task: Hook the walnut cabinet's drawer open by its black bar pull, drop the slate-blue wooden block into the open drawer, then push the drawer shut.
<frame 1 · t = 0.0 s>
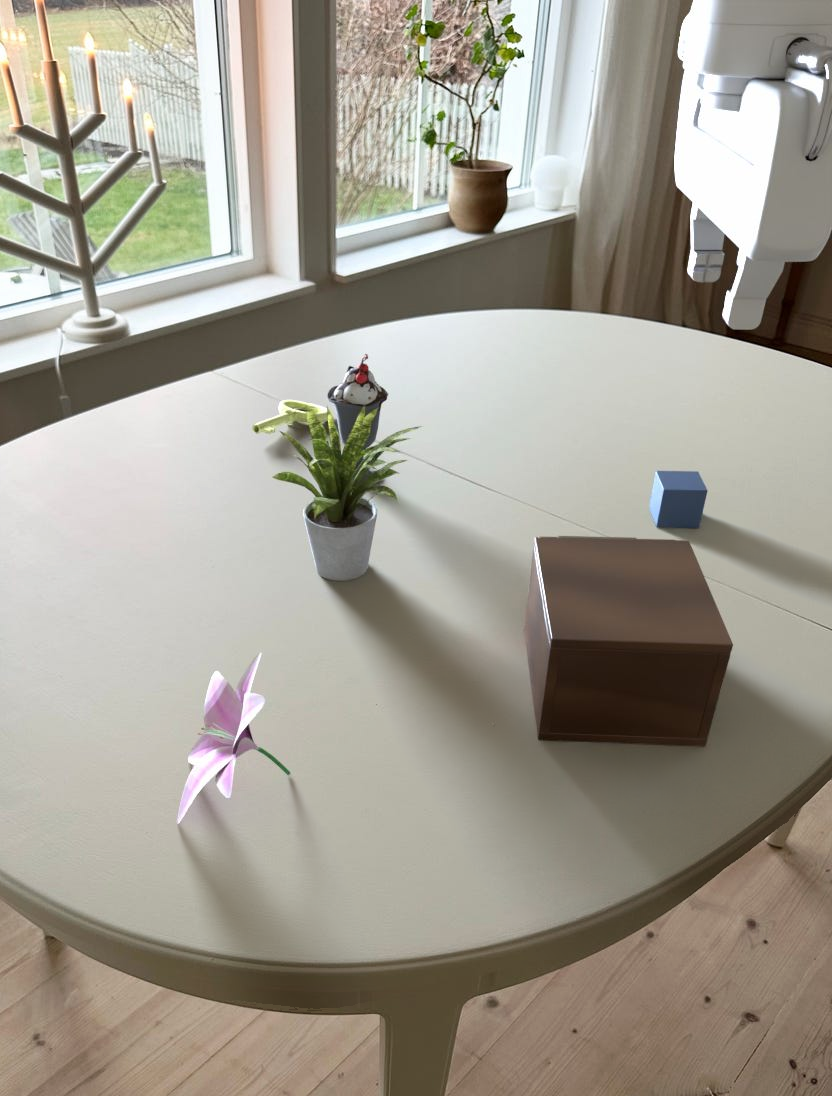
hand: (719, 301, 58), 32 cm above the table, tool pointing down, fingers open, 8 cm apart
block: (673, 517, 101), on the table
key: (289, 425, 123), on the table
cabinet: (607, 684, 79), on the table
lily: (232, 782, 70), on the table
house plant: (344, 575, 93), on the table
sundae: (359, 479, 110), on the table
drawer: (608, 605, 79), point 5 cm above the table, slide at 0.5 cm
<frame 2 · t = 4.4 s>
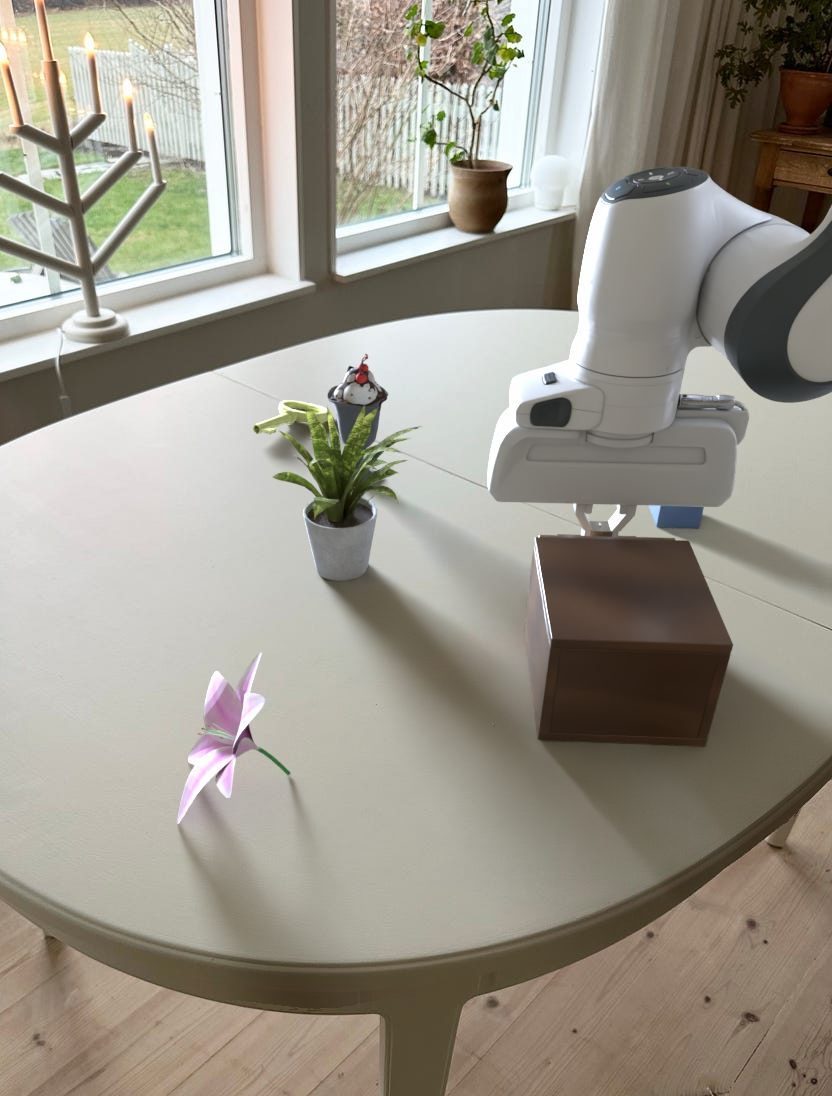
hand: (597, 543, 84), 6 cm above the table, tool pointing down, fingers closed, pressing on drawer
drawer: (607, 603, 80), point 5 cm above the table, slide at 0.8 cm, touching gripper
everything else where it was.
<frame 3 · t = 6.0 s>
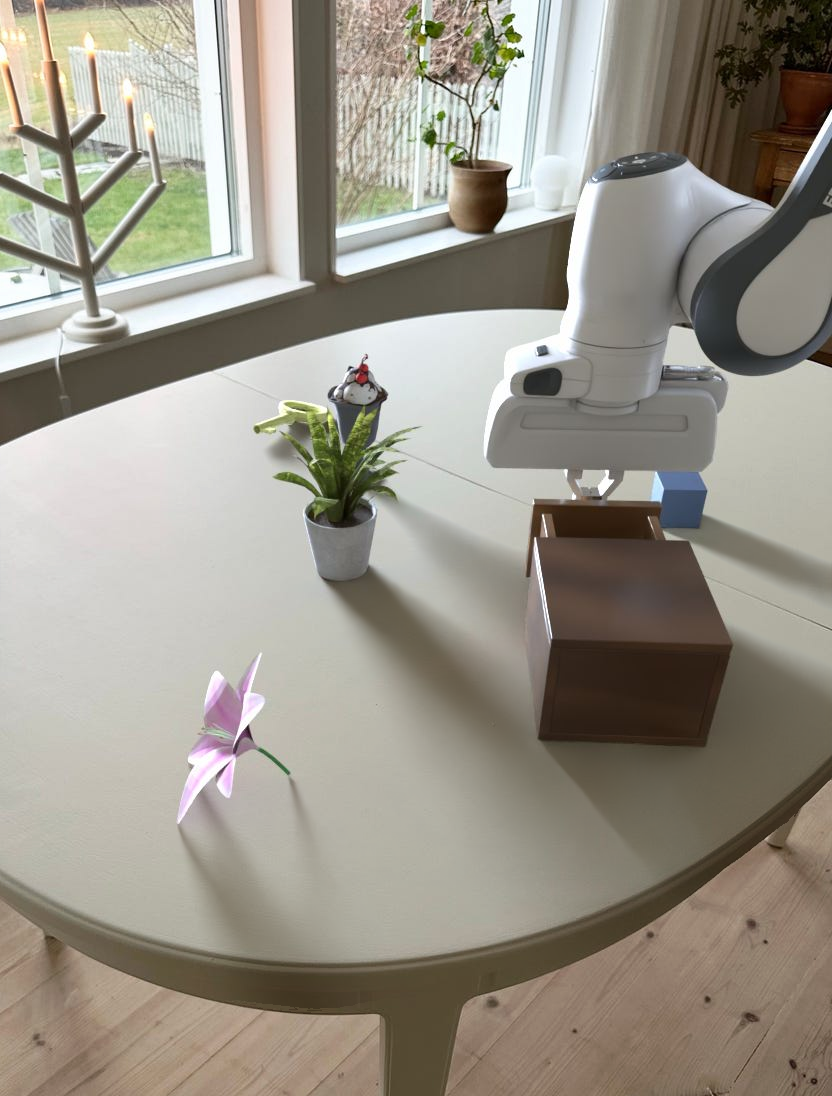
hand: (587, 508, 90), 6 cm above the table, tool pointing down, fingers closed, pressing on drawer
drawer: (596, 562, 85), point 5 cm above the table, slide at 7.4 cm, touching gripper
everything else where it was.
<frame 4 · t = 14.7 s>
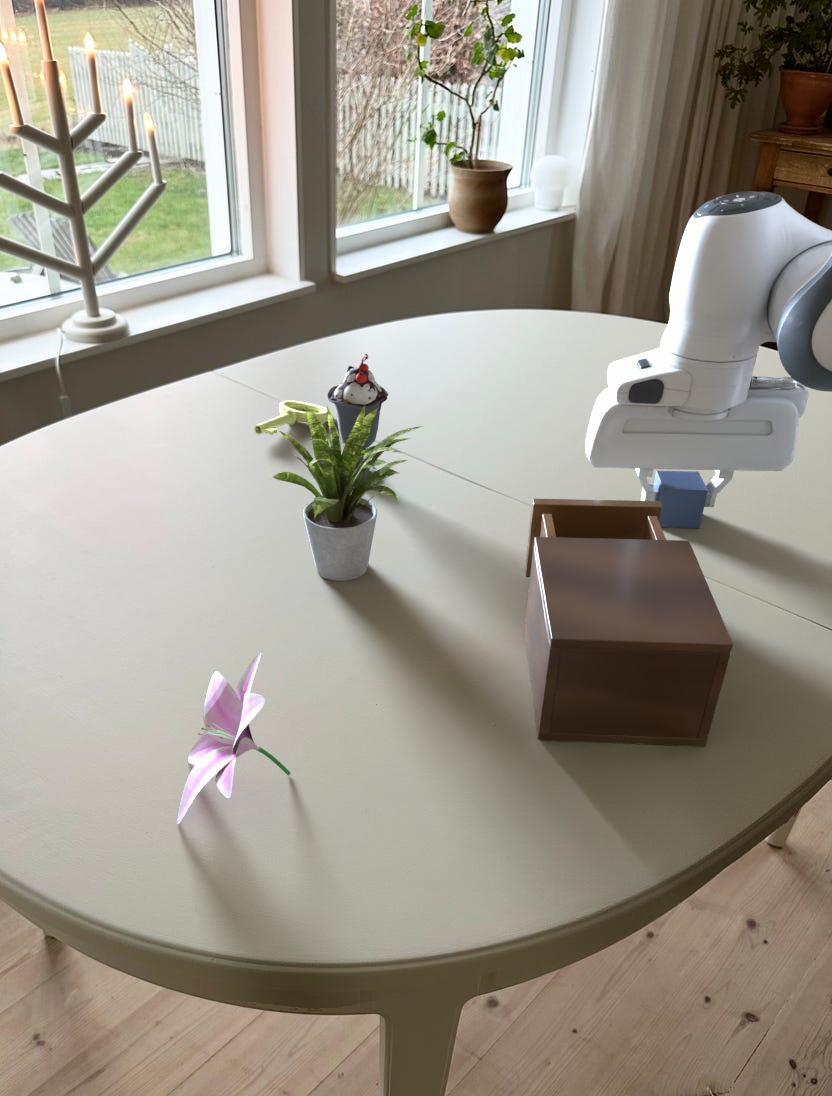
hand: (676, 504, 100), 2 cm above the table, tool pointing down, fingers closed on block, 4 cm apart
block: (673, 517, 101), on the table, touching gripper
drawer: (596, 562, 85), point 5 cm above the table, slide at 7.4 cm
everything else where it was.
when the fingers open (9 cm above the table, at t = 20.7 s): block drops 5 cm, resting on drawer.
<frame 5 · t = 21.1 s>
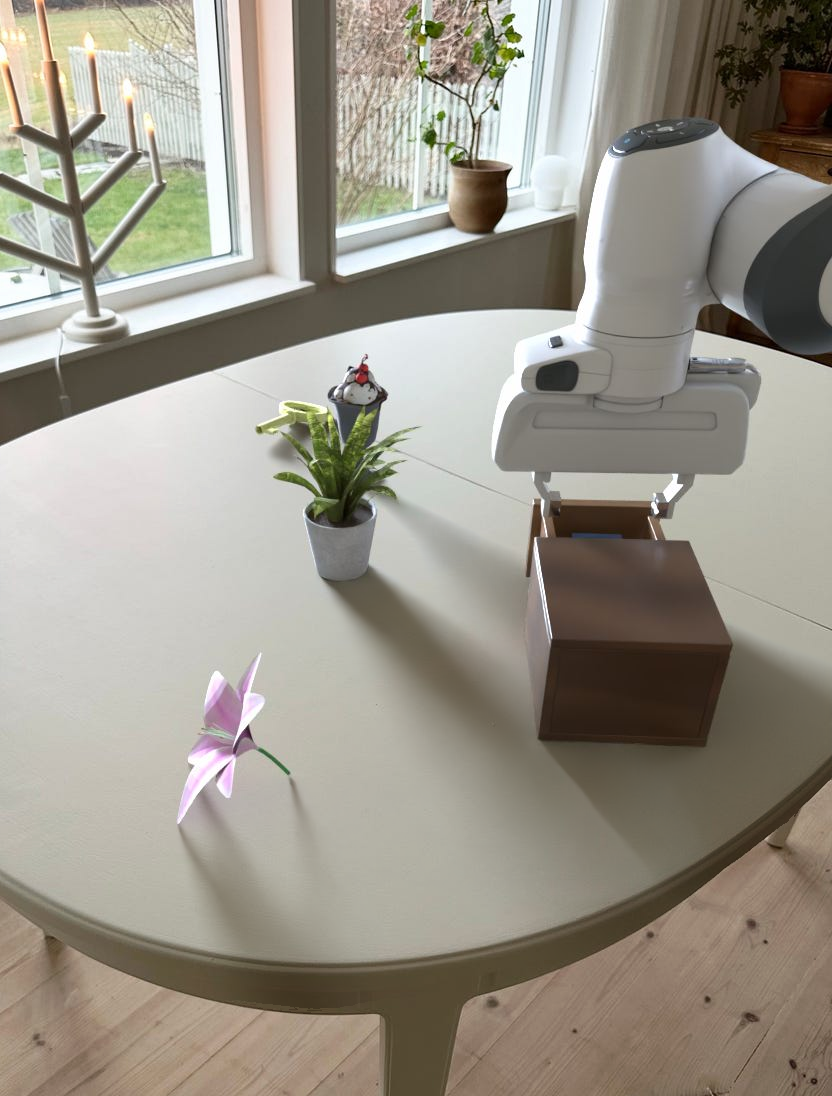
hand: (605, 515, 82), 10 cm above the table, tool pointing down, fingers open, 8 cm apart
block: (593, 587, 87), point 2 cm above the table, touching drawer
drawer: (596, 562, 85), point 5 cm above the table, slide at 7.4 cm, touching block
everything else where it was.
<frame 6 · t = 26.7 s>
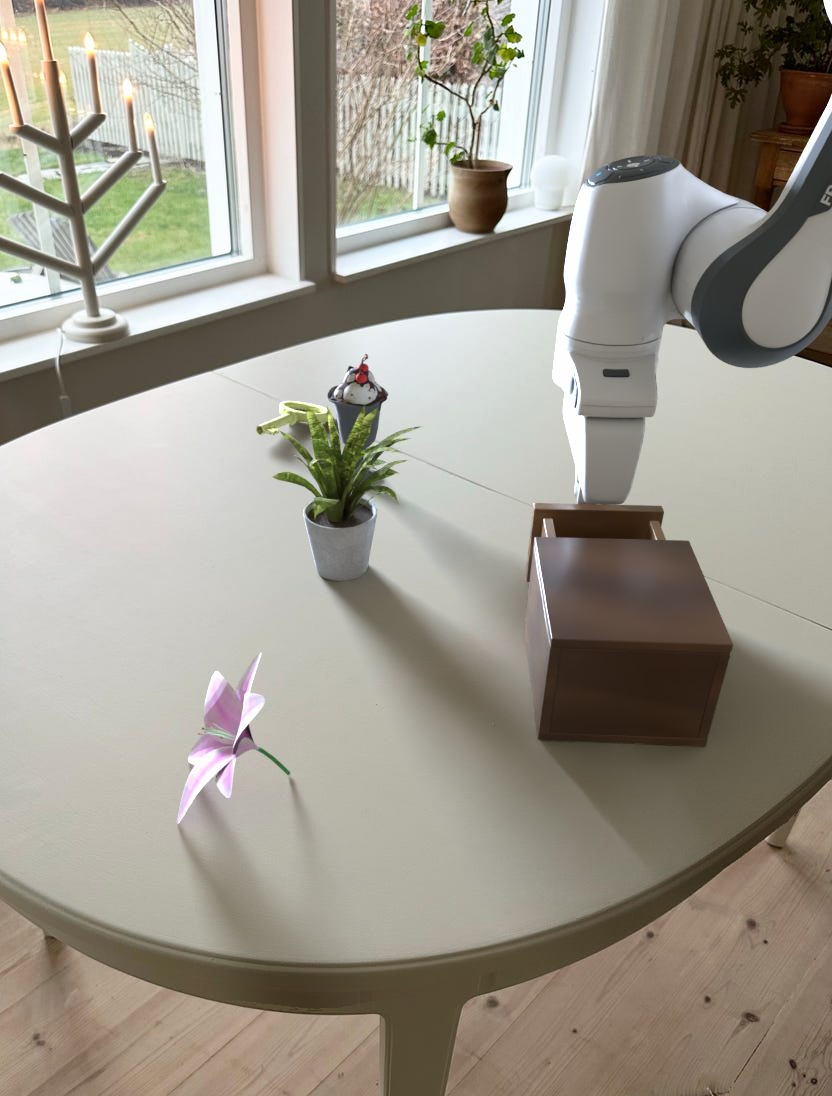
hand: (584, 502, 92), 6 cm above the table, tool pointing down, fingers closed
drawer: (598, 567, 84), point 5 cm above the table, slide at 6.6 cm, touching block, gripper
everything else where it was.
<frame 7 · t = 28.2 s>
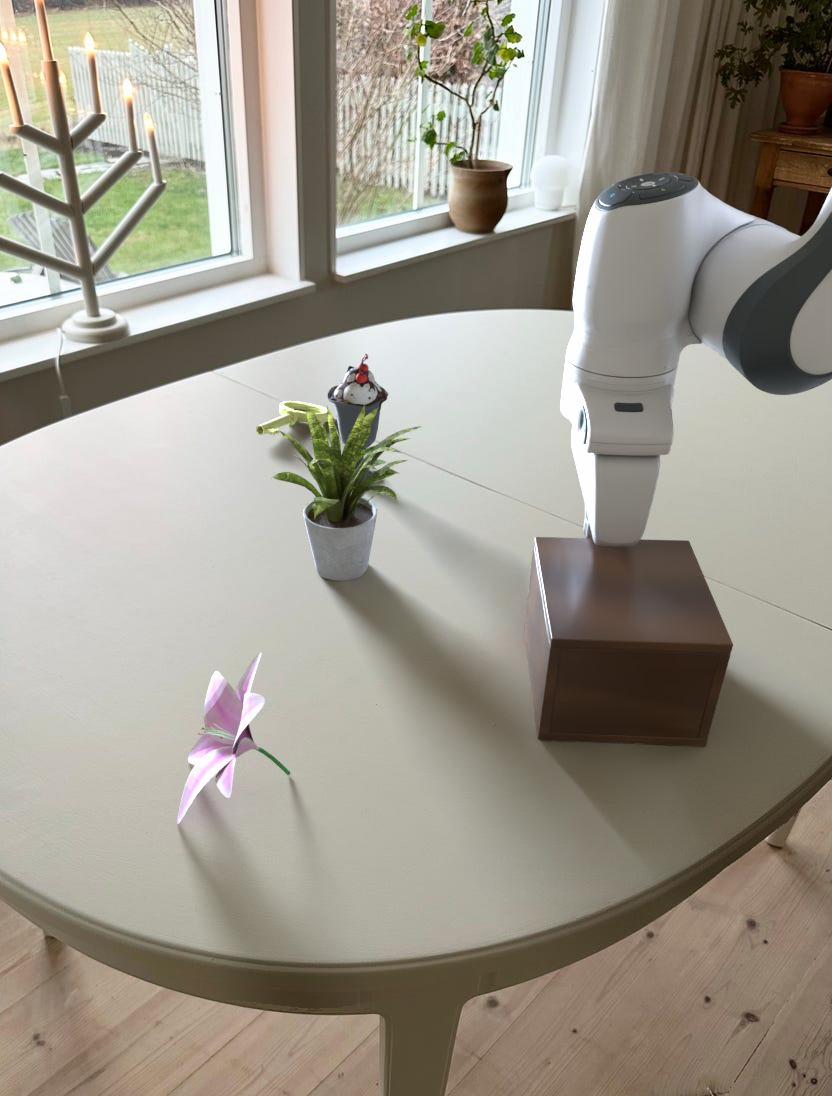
hand: (594, 539, 87), 6 cm above the table, tool pointing down, fingers closed
block: (604, 635, 81), point 2 cm above the table, touching drawer
drawer: (608, 608, 79), point 5 cm above the table, slide at 0.0 cm, touching block, cabinet, gripper
everything else where it was.
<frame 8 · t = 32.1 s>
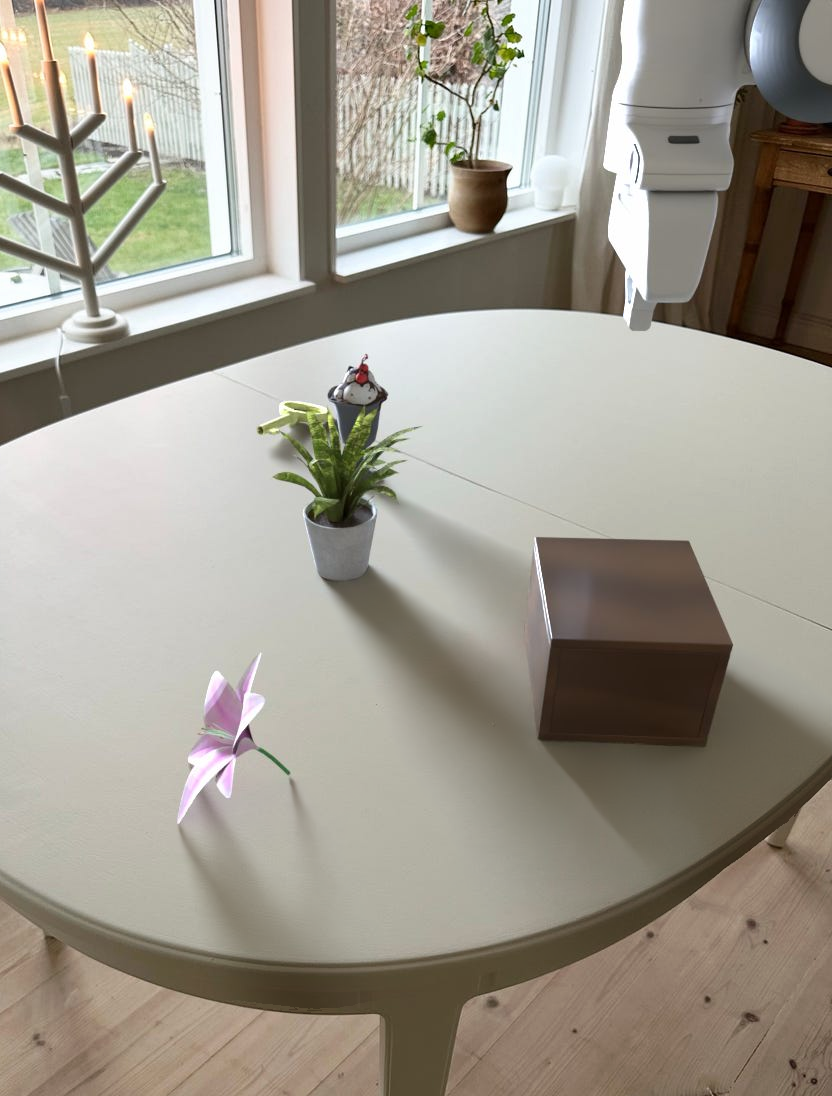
hand: (636, 325, 81), 23 cm above the table, tool pointing down, fingers closed
drawer: (608, 608, 79), point 5 cm above the table, slide at 0.0 cm, touching block
everything else where it was.
at the end: drawer pulled out 7.4 cm at the most during the clip, back to where it started at the end; block inside the target area in the cabinet (3.0 cm from its centre), point 2.0 cm above the cabinet's base; drawer slide at 0.0 cm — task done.
